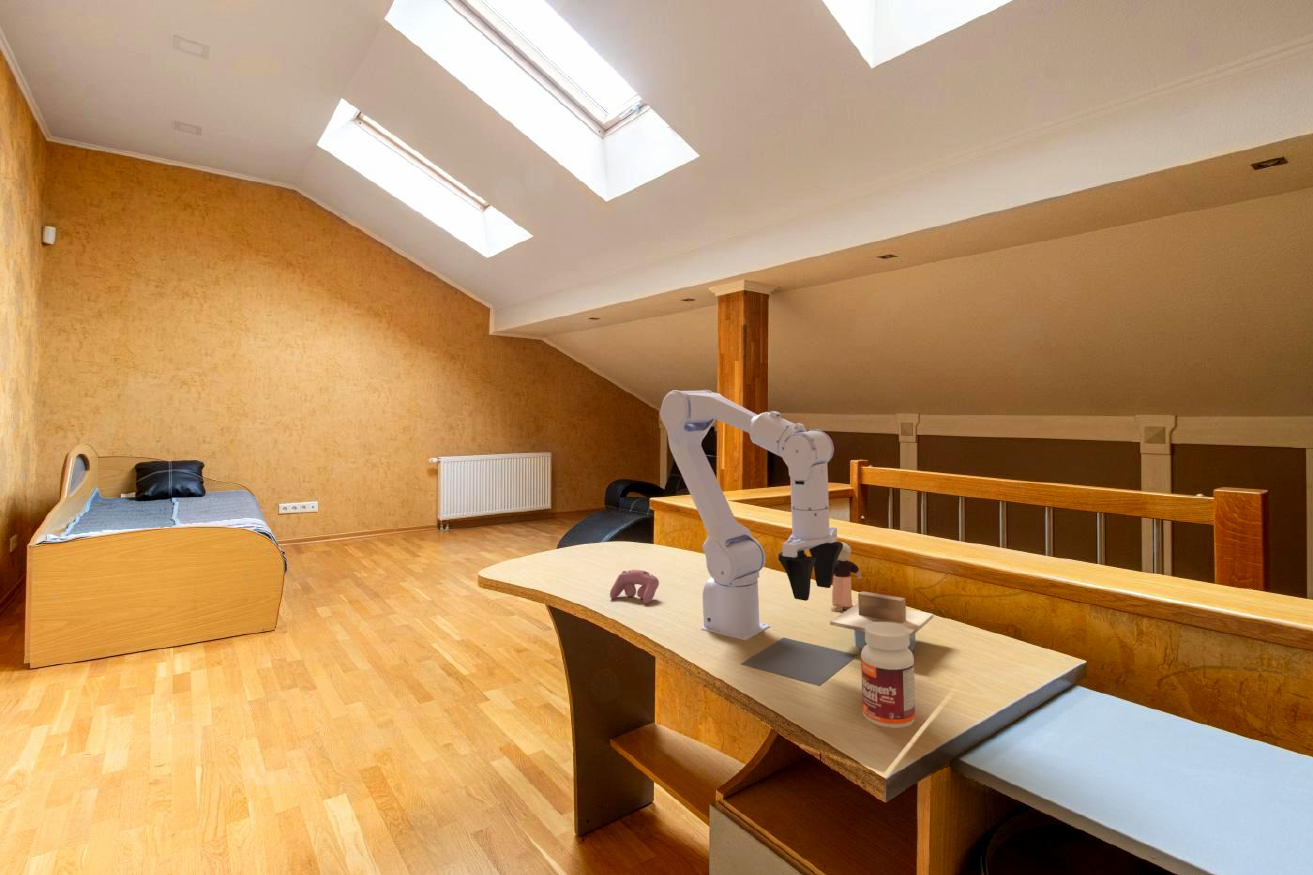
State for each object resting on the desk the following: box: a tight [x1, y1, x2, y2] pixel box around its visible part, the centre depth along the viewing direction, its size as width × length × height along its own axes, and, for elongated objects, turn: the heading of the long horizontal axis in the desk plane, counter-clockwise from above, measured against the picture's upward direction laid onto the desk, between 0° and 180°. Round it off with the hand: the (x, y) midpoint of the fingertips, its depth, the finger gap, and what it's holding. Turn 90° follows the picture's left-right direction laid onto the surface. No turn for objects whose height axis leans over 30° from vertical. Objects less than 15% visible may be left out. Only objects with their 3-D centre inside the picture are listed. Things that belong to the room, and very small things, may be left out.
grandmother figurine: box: [830, 541, 862, 612], centre depth 119 cm, size 8×4×13 cm, turn 112°
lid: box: [829, 590, 934, 639], centre depth 100 cm, size 12×12×4 cm
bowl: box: [853, 630, 917, 653], centre depth 100 cm, size 9×9×4 cm
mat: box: [740, 637, 859, 687], centre depth 95 cm, size 13×13×1 cm
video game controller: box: [609, 569, 660, 605], centre depth 132 cm, size 10×5×7 cm, turn 58°
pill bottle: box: [860, 622, 916, 729], centre depth 77 cm, size 6×6×11 cm
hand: (812, 592), depth 99 cm, fingers open, 7 cm apart
